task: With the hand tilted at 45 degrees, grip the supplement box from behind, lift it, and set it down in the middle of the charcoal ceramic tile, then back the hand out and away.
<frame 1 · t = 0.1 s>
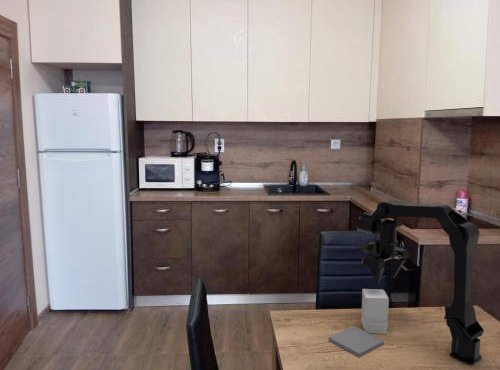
hand: (384, 281, 141), 15 cm above the table, tool pointing down, fingers open, 9 cm apart
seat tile: (355, 342, 129), on the table
supplement box: (373, 329, 138), on the table
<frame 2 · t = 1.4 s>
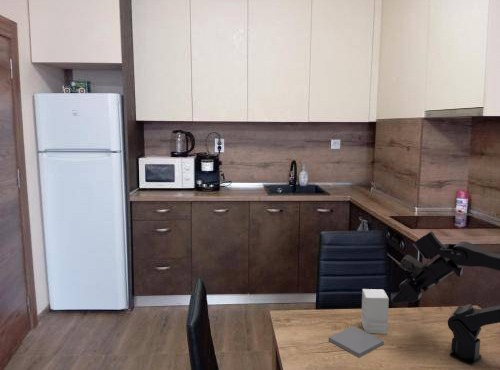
hand: (397, 296, 132), 13 cm above the table, tool tilted 45°, fingers open, 9 cm apart
nothing on the table moved.
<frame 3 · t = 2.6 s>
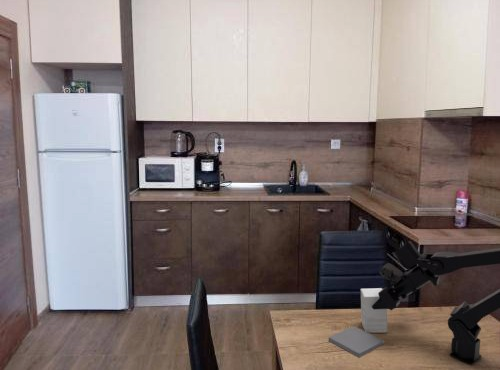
hand: (377, 302, 136), 9 cm above the table, tool tilted 45°, fingers open, 9 cm apart
supplement box: (373, 328, 138), on the table, touching gripper
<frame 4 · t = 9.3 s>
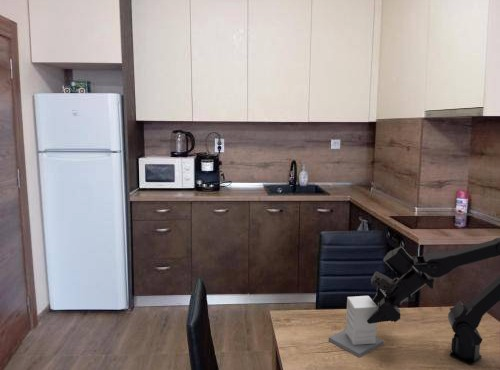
hand: (367, 315, 127), 9 cm above the table, tool tilted 45°, fingers open, 9 cm apart
supplement box: (359, 338, 129), point 1 cm above the table, touching gripper
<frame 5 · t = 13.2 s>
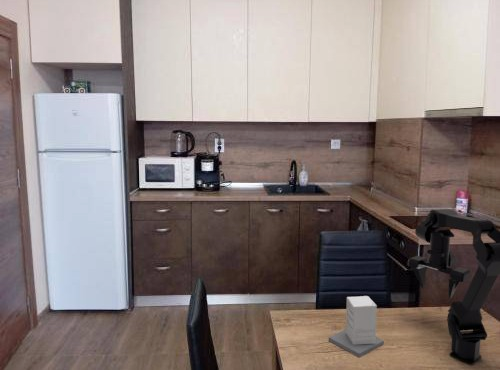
hand: (436, 293, 135), 13 cm above the table, tool pointing down, fingers open, 9 cm apart
supplement box: (360, 339, 129), point 1 cm above the table, touching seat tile
at the end: supplement box inside the target area on the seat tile (1.3 cm from its centre), point 1.0 cm above the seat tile's base; supplement box tilted 0°; the gripper is holding nothing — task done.
